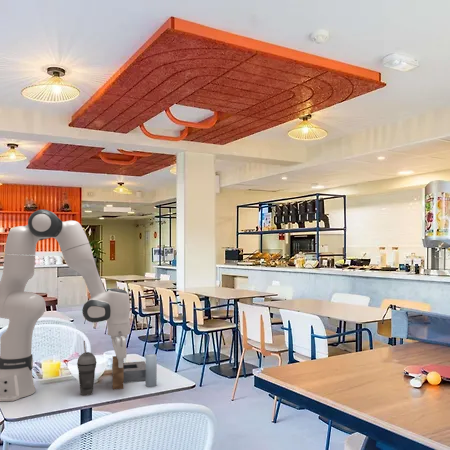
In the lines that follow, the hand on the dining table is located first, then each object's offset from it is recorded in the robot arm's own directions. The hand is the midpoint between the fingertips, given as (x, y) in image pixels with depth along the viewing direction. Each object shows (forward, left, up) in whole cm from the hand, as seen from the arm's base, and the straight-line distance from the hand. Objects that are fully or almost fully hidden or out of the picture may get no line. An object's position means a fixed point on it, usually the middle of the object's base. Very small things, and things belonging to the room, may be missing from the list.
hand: (119, 364), depth 192 cm
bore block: (+5, +12, -9) cm, 16 cm away
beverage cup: (-13, -5, -9) cm, 16 cm away
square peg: (-1, -1, -9) cm, 9 cm away
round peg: (+12, -2, -9) cm, 15 cm away
